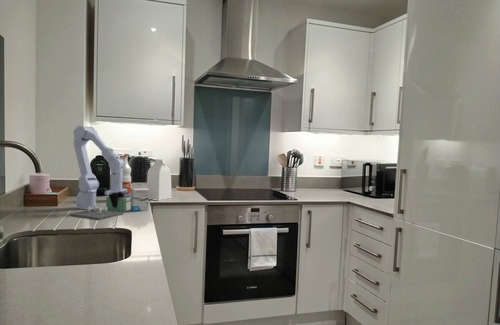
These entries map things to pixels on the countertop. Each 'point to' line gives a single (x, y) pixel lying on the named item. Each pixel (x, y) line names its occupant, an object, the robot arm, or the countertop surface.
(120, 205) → the board
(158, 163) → the milk
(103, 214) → the plate
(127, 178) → the fruit juice
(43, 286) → the countertop surface
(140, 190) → the ink box
